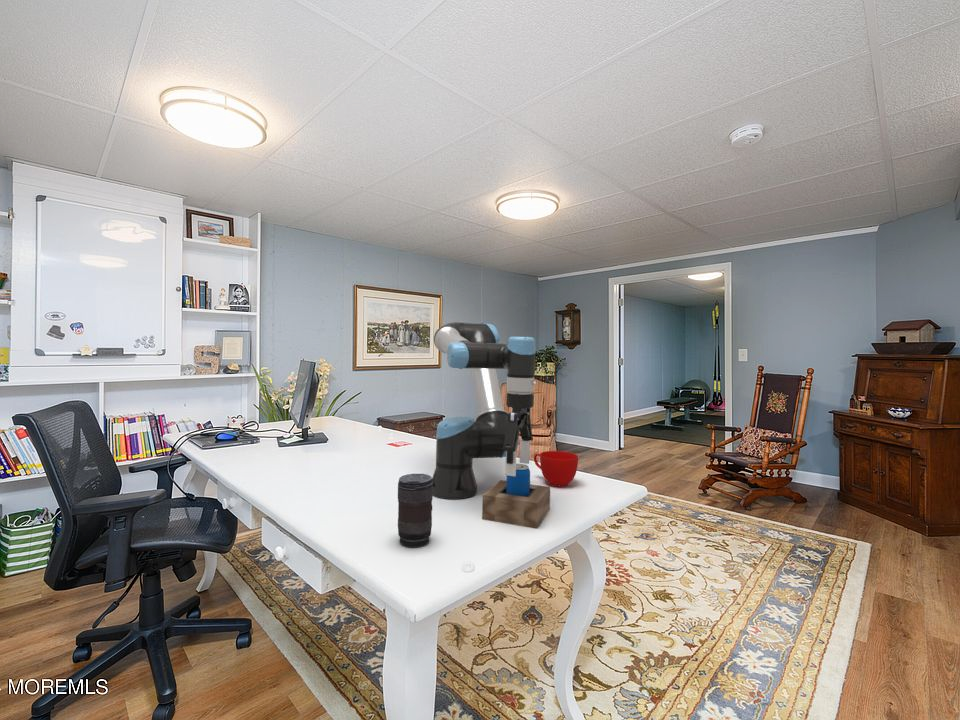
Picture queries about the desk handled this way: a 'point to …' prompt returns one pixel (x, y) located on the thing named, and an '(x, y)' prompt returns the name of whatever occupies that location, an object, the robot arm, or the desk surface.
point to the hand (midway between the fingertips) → (517, 469)
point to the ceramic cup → (557, 467)
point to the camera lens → (415, 509)
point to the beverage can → (519, 481)
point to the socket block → (516, 505)
